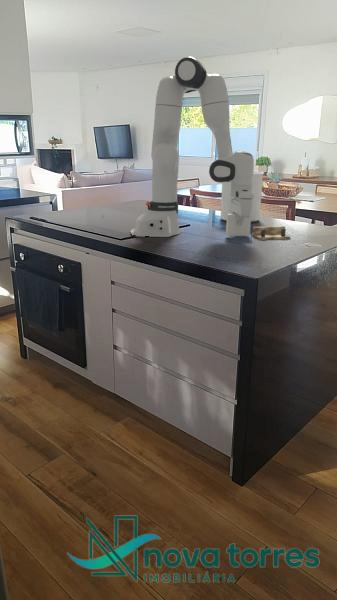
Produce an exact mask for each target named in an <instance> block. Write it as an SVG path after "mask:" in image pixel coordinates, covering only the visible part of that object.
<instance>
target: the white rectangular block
mask: <svg viewBox="0 0 337 600" xmlns="http://www.w3.org/2000/svg"><path fill="white" fill-rule="evenodd" d="M237 221H238V215H237V214H227V222H226V225H225V236H227V237H229V236H231V237H232V236H233V237H239V236H240V237H245V236H246V237H250V236H251V235H250V234H251V224H252V223H251V214H250V217H244V219H243V222H242V226H239V225H237Z"/></svg>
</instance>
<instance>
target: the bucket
mask: <svg viewBox="0 0 337 600" xmlns="http://www.w3.org/2000/svg"><path fill="white" fill-rule="evenodd" d="M264 175H265V172H263V171H259V170H258V171H256V170H254V171H253V176H252V191H253V193H254V198H253V199H252V209H251V224H255V223H257V222H259V221H260V218H261V217H260V216H261V215H260V214H261V203H262V189H263V178H264V177H263V176H264ZM230 192H231V182H223V183H221V201H220V203H221V204H220V220H221V221H222V222H226V223H227V214H233V212H232V211H231V210H230V200H231V195H230Z"/></svg>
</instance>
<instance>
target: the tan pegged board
mask: <svg viewBox="0 0 337 600" xmlns="http://www.w3.org/2000/svg"><path fill="white" fill-rule="evenodd" d="M286 232H287V231H286V226H283V225H282V226H280V225H279V226H277V225H276V226H275V225H274V226H253V229H252V232H251V236H252V237H254V238H255V239H257V240H259V241H262V240H263V241H267V240H269V241H271V240H291V235H288V234H286Z"/></svg>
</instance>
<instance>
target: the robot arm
mask: <svg viewBox="0 0 337 600" xmlns="http://www.w3.org/2000/svg"><path fill="white" fill-rule="evenodd" d="M156 90H157V91H156V95H155V96H156V97H155V105H154V106H155V107H154V120H153V122H154V123H153V131H152V132H153V133H152V139H151V140H152V142H151V153H150V155H151V161H152V171H151V173H152V176H151V178H152V179H151V185H152V186H151V201H149V200H148V201H146V202H145V205H146V206H147V210H146V211H145V212H143V213H142V214H141V215H139V216H138V217H137V218H136V220H135V225H134V228H132V229H130V232H131V233H130V235H131V234H132V235H131V236H133V235H136V236H135V237H145V236H149V237H157V238H160V237H161V238H169V237H172V236H176V235H179V234H181V230H180V226H179V220H178V218H179V217H178V213H179V202H178V177H179V165H180V164H179V162H180V153H179V149H178V143H179V135H180V131H181V123H182V122H181V121H182V112H183V110H182V109H183V99H184V95H185V94H190V93H193V92H198V94H199V97H200V103H201V113H202V116H203V121H204V123H205V125H206V127H208V129H210V131H211V132H212V134H213V136H214V139H215V145H216V150H217V157H218V158H217V159H215V161H213V162H211V164H210V165H209V170H208V174H209V176H210V177H209V178H211V180H212V181H214V182H216V183H219V184H222V183H223V182H231V192H230V195H231V200H230V210H231V211H232V212H234V213H235V214H237V215H238V221H237V225H239V226H242V222H243V219H244V217H250V214H251V209H252V199H253V198H254V193H253V191H252V176H253V171H255V169H254V168H255V159H254V156H253V154H252V153H250V152H248V151H242V150H235V151H234V152H233V148H232V141H231V139H232V138H231V133H230V129H231V127H230V101H229V92H228V89H227V85H226V82H225V78H224V77H223V75H221V74H217V73H209V74H208V73H207V71H206V68H205V67H204V65H203V63H202V62H201V61H199V60H198V59H197V58H195V57H193V56H184V57H183V58H181V59H180V60H179V61H178V62H177V63H176V64H175V68H174V75H172V76H171V75H169V76H165V77H163V78H161V80H160V81H159V83H158V87H157V89H156Z"/></svg>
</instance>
